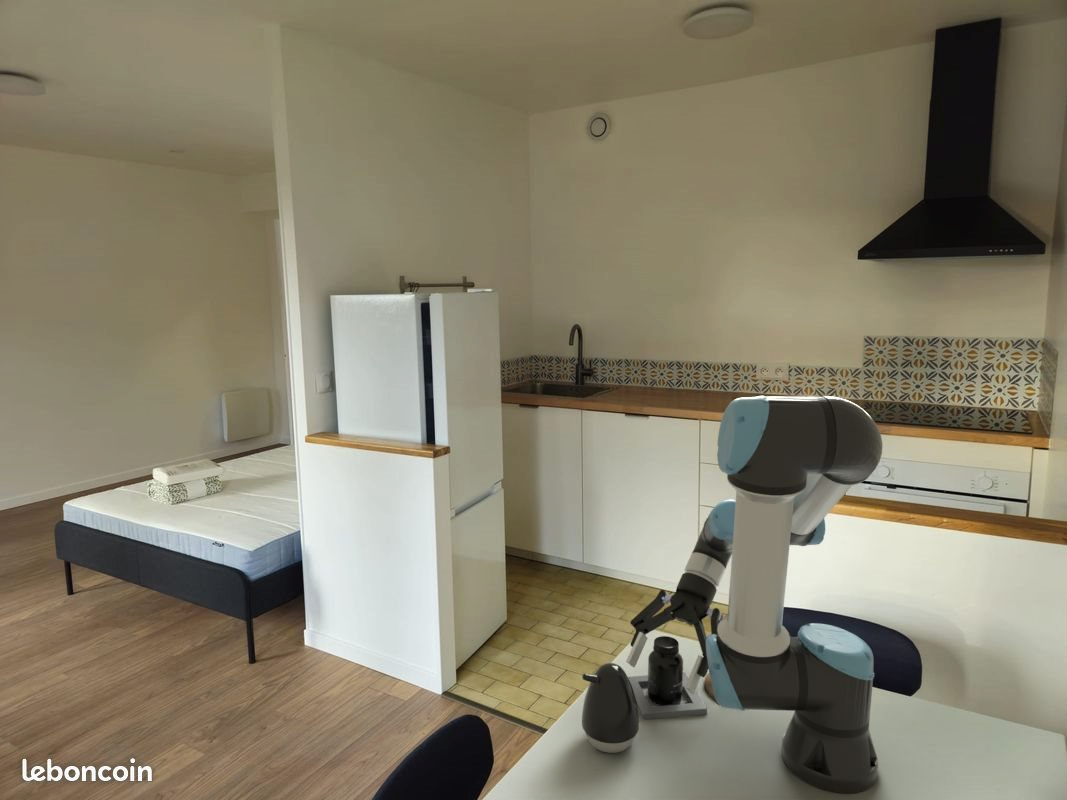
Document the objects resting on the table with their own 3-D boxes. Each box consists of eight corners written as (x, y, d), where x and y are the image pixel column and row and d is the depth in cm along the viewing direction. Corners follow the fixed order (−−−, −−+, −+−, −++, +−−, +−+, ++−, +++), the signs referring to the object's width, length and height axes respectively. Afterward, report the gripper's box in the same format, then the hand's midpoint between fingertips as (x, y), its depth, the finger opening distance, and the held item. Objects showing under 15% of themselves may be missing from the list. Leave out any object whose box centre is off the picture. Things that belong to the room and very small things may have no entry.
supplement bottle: (682, 710, 134) (684, 652, 132) (646, 706, 135) (647, 649, 133) (682, 689, 141) (683, 634, 139) (648, 686, 142) (649, 631, 140)
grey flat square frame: (706, 714, 133) (707, 708, 132) (642, 719, 131) (642, 714, 131) (684, 677, 145) (685, 672, 145) (626, 682, 143) (626, 677, 143)
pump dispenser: (572, 731, 128) (572, 655, 125) (624, 720, 131) (624, 646, 128) (593, 767, 118) (593, 686, 116) (648, 755, 121) (650, 675, 119)
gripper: (762, 606, 138) (723, 709, 129) (656, 572, 155) (615, 661, 146) (751, 589, 133) (709, 695, 125) (643, 556, 150) (600, 647, 142)
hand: (658, 677), depth 135 cm, fingers open, 13 cm apart
